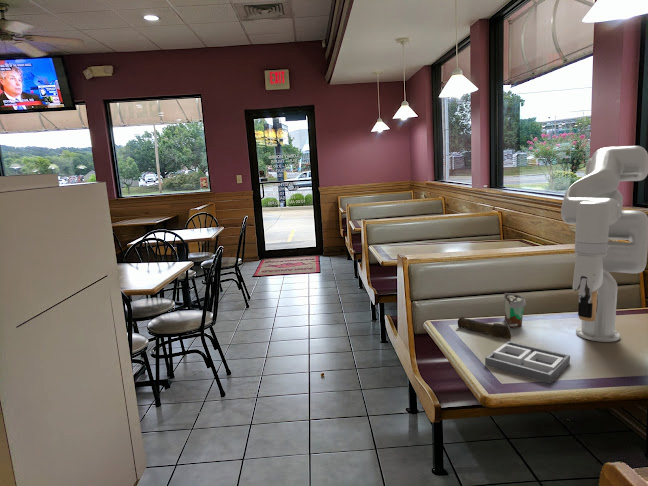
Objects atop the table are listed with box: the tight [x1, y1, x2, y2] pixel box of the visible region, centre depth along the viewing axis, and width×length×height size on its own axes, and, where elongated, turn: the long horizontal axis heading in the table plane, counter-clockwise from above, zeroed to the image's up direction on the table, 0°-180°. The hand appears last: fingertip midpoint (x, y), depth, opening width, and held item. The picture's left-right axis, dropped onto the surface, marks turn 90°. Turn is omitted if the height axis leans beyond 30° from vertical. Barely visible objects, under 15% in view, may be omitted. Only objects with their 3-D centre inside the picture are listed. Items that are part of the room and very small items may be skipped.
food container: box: [504, 292, 527, 329], centre depth 168 cm, size 12×6×10 cm, turn 168°
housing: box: [484, 340, 571, 384], centre depth 136 cm, size 16×18×3 cm
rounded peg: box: [578, 289, 597, 321], centre depth 126 cm, size 4×4×8 cm
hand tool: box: [457, 316, 512, 340], centre depth 161 cm, size 19×4×5 cm, turn 41°
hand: (587, 313), depth 126 cm, fingers closed on rounded peg, 4 cm apart
